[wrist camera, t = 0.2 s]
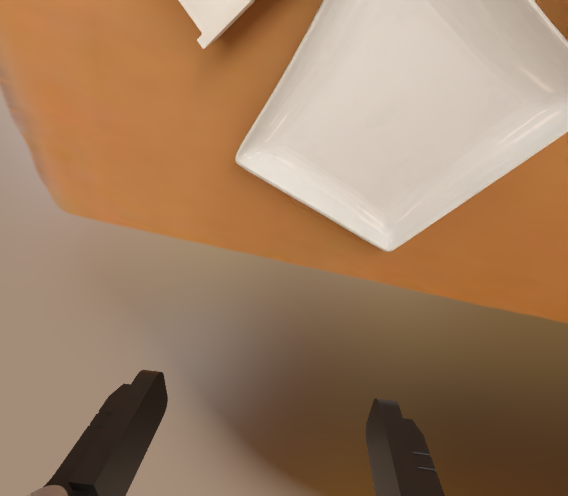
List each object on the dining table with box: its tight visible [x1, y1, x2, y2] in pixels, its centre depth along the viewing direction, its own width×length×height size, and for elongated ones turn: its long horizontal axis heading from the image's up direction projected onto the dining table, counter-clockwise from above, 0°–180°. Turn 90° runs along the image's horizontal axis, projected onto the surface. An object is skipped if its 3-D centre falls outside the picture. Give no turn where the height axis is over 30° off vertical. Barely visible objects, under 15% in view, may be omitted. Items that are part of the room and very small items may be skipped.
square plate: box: [235, 0, 568, 252], centre depth 32 cm, size 27×27×4 cm
